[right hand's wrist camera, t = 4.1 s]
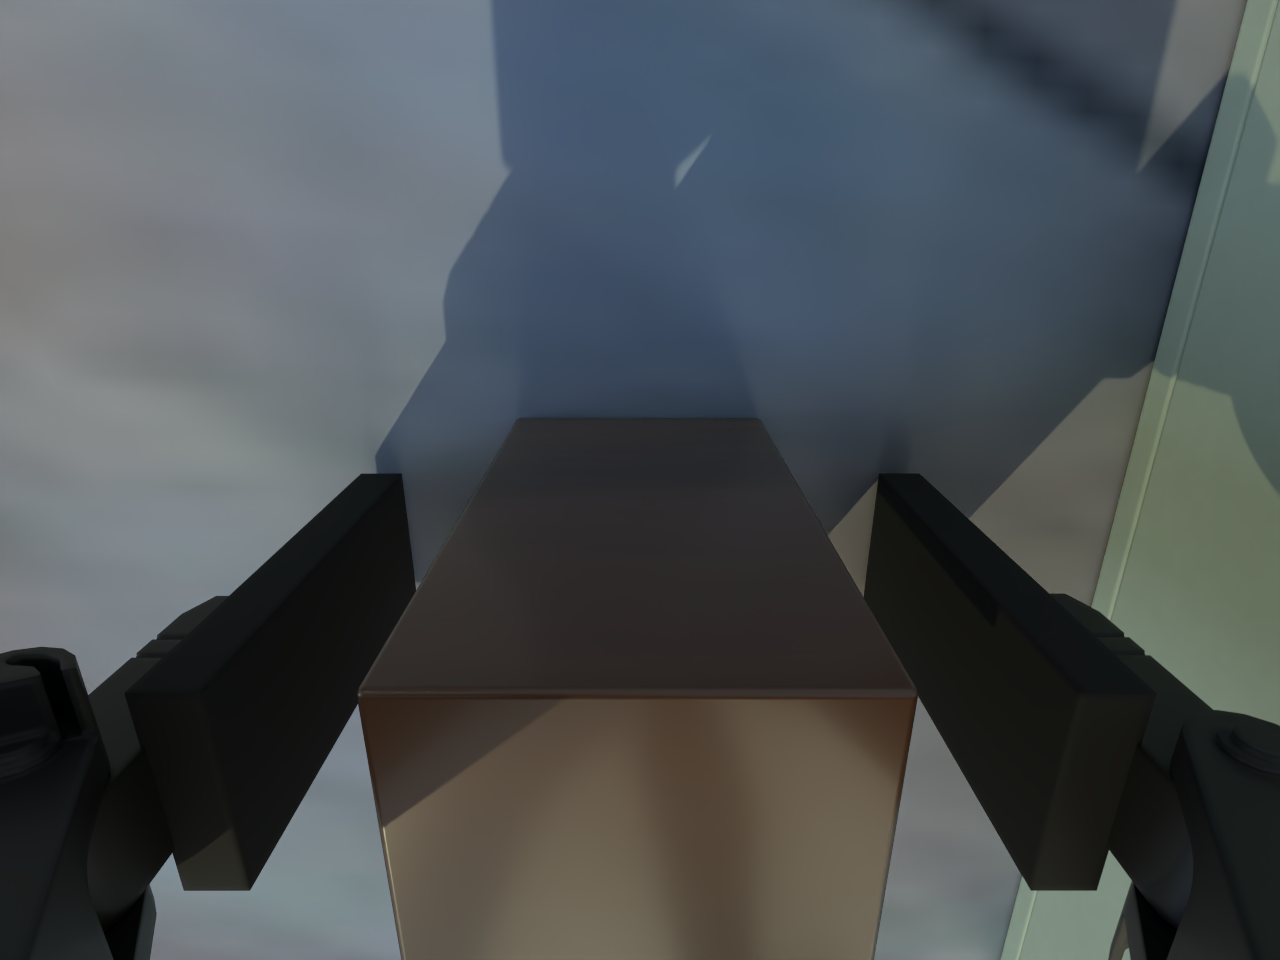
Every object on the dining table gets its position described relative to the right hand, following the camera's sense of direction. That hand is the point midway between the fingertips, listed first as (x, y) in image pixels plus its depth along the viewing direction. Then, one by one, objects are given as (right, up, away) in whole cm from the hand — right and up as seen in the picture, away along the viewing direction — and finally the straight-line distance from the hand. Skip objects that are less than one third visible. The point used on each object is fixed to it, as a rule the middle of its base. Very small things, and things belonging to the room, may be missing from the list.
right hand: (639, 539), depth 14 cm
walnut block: (0, 0, 0) cm, 0 cm away
